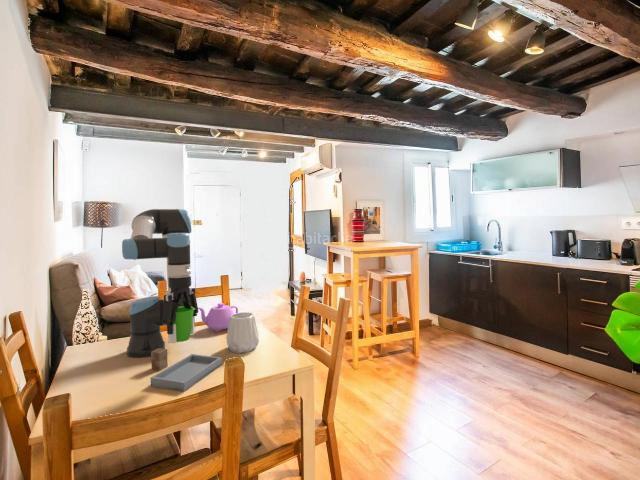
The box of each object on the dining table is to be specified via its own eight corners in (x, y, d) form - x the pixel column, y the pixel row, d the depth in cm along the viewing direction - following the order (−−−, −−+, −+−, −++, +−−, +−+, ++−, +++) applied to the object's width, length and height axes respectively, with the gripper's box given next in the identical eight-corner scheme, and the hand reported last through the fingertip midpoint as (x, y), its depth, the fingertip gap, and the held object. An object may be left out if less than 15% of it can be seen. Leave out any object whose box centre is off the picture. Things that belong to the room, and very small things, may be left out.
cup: (199, 335, 127) (198, 306, 126) (187, 344, 118) (186, 312, 117) (176, 335, 128) (175, 306, 127) (163, 343, 119) (162, 312, 118)
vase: (229, 356, 143) (228, 321, 142) (224, 345, 156) (223, 313, 155) (262, 351, 149) (261, 317, 148) (254, 341, 162) (254, 309, 161)
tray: (150, 386, 118) (150, 377, 118) (192, 361, 139) (191, 353, 139) (184, 391, 114) (184, 382, 114) (222, 365, 135) (221, 357, 135)
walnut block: (151, 369, 131) (150, 351, 131) (159, 365, 135) (158, 348, 135) (160, 370, 130) (159, 352, 130) (167, 366, 134) (167, 349, 134)
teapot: (201, 337, 168) (200, 310, 167) (194, 329, 181) (193, 303, 180) (244, 329, 179) (243, 303, 179) (234, 322, 192) (234, 298, 192)
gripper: (166, 281, 110) (168, 349, 111) (207, 272, 131) (209, 329, 132) (147, 280, 112) (150, 347, 113) (190, 271, 133) (192, 328, 134)
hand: (181, 338), depth 123 cm, fingers closed on cup, 9 cm apart
